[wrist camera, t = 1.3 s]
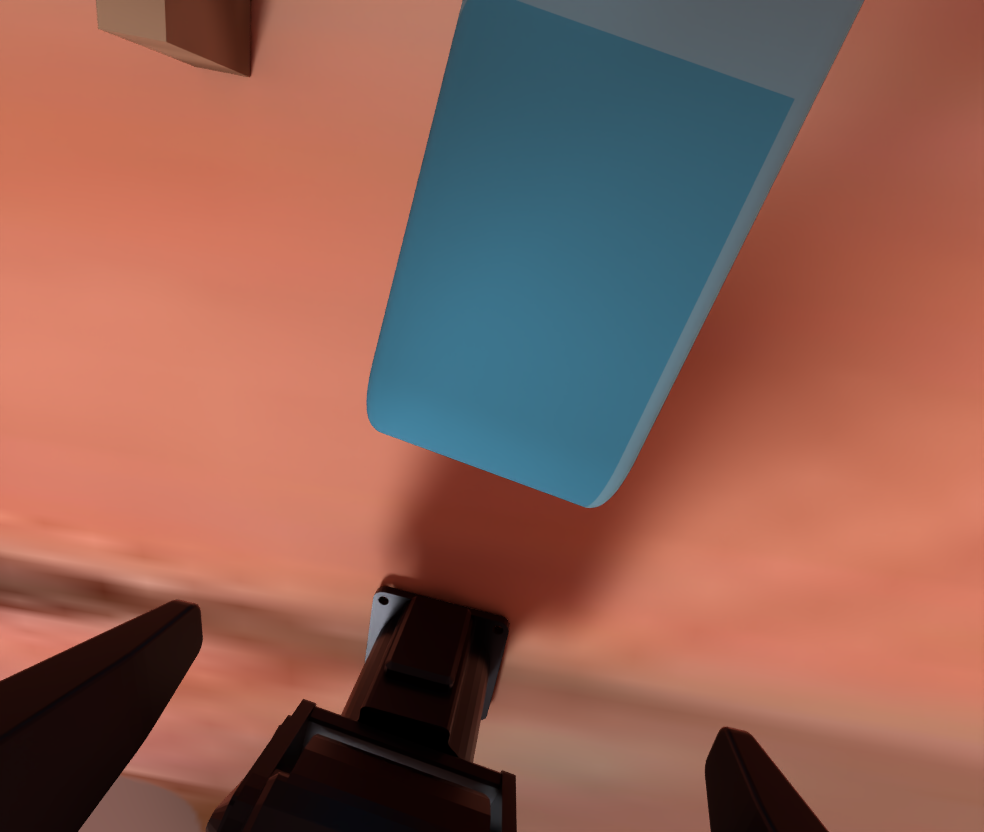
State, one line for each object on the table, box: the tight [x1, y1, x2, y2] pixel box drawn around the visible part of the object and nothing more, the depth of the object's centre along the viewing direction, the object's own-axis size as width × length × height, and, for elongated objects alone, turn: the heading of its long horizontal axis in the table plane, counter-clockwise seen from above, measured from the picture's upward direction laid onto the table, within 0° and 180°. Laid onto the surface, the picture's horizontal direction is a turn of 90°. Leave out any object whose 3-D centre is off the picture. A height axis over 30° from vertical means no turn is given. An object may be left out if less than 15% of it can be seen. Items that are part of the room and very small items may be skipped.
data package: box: [367, 0, 864, 508], centre depth 12 cm, size 12×4×12 cm, turn 162°
